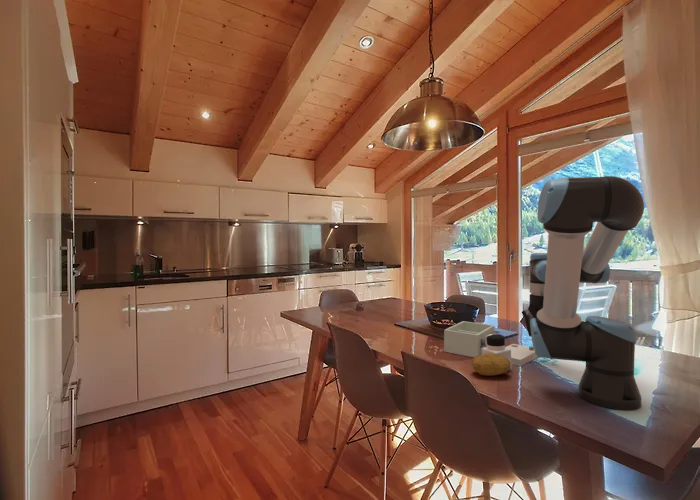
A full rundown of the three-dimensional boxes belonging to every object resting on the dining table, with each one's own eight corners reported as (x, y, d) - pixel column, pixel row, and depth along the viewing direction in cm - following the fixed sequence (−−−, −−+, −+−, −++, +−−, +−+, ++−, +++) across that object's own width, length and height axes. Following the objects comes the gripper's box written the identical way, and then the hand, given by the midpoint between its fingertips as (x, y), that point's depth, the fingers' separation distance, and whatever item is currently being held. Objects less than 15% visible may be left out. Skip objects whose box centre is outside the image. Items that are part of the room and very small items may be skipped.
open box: (487, 360, 145) (487, 336, 145) (444, 351, 156) (444, 329, 155) (503, 347, 161) (503, 326, 160) (462, 340, 171) (462, 321, 171)
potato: (469, 369, 135) (469, 350, 135) (507, 371, 133) (507, 352, 133) (473, 378, 126) (473, 357, 126) (514, 380, 124) (514, 359, 124)
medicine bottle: (512, 369, 133) (510, 335, 133) (497, 373, 130) (495, 338, 130) (496, 363, 140) (495, 331, 139) (482, 367, 137) (480, 334, 137)
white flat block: (520, 367, 138) (520, 357, 138) (491, 360, 146) (491, 350, 146) (540, 357, 150) (540, 347, 150) (512, 350, 158) (513, 341, 158)
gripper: (562, 294, 141) (561, 357, 142) (524, 291, 149) (524, 350, 150) (558, 297, 135) (557, 362, 136) (519, 293, 143) (518, 355, 144)
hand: (539, 356), depth 143 cm, fingers closed
